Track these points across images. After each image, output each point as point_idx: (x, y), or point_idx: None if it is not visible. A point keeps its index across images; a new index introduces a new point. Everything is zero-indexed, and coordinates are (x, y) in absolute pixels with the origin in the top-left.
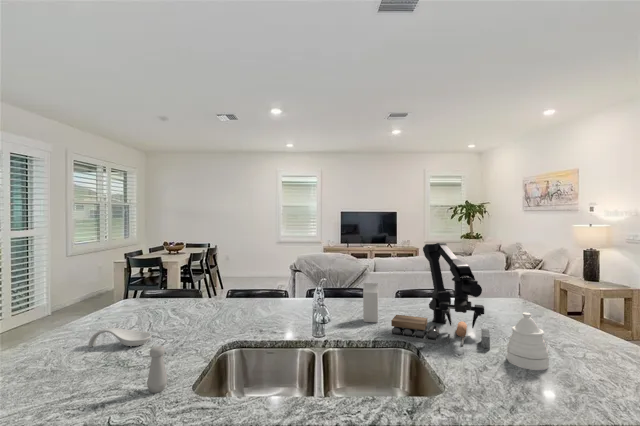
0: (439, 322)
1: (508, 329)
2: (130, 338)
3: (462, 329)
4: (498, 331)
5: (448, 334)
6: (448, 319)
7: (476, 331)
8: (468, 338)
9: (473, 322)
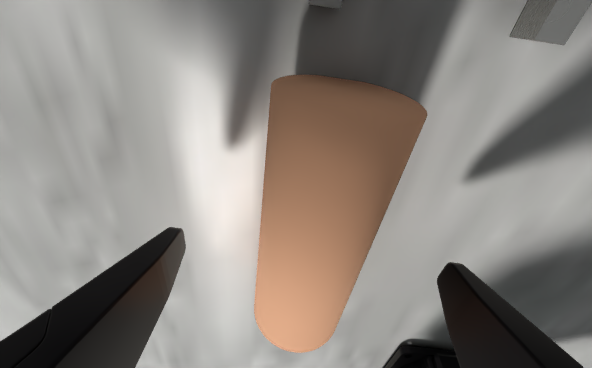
0: (445, 353)
1: (3, 320)
2: None
3: (331, 107)
4: (38, 284)
5: (578, 7)
6: (560, 350)
7: (184, 260)
8: (250, 17)
9: (105, 294)
